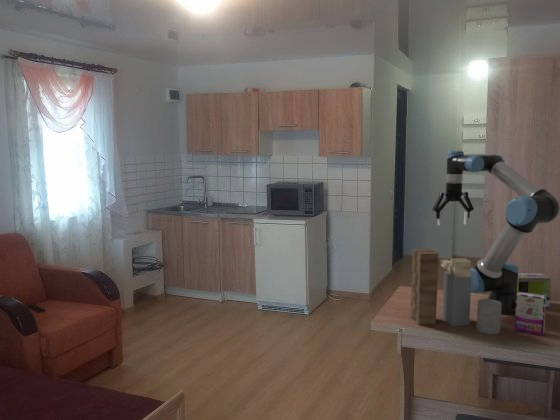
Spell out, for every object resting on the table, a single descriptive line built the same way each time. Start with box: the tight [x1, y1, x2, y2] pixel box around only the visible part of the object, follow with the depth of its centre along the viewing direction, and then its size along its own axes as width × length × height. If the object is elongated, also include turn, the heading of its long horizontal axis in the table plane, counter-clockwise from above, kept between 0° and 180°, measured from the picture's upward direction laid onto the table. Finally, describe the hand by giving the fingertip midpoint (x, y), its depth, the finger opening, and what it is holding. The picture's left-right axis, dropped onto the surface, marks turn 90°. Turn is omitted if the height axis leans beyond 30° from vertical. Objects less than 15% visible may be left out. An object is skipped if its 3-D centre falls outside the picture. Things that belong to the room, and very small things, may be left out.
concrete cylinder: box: [476, 298, 502, 335], centre depth 221 cm, size 10×10×12 cm
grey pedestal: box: [441, 270, 472, 327], centre depth 230 cm, size 10×8×22 cm
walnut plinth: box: [410, 248, 440, 326], centre depth 231 cm, size 10×8×32 cm
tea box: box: [517, 272, 552, 308], centre depth 254 cm, size 15×10×15 cm, turn 84°
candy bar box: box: [514, 292, 547, 336], centre depth 218 cm, size 11×5×16 cm, turn 56°
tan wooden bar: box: [440, 258, 472, 277], centre depth 233 cm, size 20×7×7 cm, turn 6°
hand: (452, 224), depth 257 cm, fingers open, 13 cm apart
